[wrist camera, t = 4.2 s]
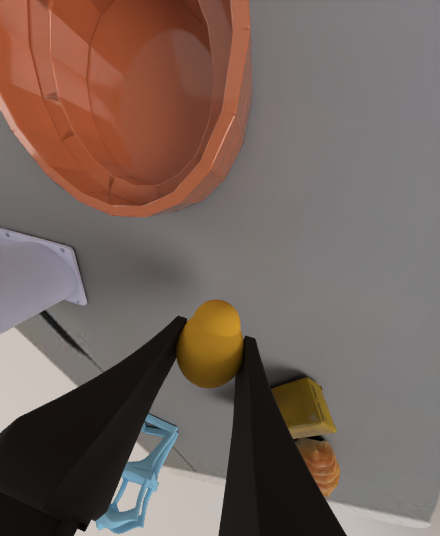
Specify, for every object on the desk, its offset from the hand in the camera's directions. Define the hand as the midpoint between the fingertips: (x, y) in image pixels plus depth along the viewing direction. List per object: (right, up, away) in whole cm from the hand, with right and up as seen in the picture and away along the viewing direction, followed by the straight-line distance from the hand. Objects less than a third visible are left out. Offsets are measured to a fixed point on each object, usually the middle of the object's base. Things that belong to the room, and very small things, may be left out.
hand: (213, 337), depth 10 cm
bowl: (-4, +15, 0) cm, 16 cm away
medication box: (+7, -12, +10) cm, 17 cm away
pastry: (+14, -24, +13) cm, 31 cm away
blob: (0, +1, +1) cm, 1 cm away
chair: (-12, -28, +22) cm, 38 cm away
